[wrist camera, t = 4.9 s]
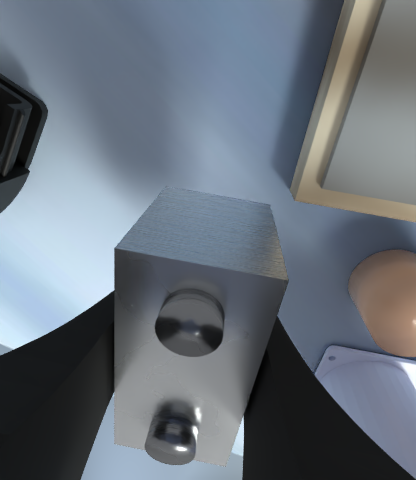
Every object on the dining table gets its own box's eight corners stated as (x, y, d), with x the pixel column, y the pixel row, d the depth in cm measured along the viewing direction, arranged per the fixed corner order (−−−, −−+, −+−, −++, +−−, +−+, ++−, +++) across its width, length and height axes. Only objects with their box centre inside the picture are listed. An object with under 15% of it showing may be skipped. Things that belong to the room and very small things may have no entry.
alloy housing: (231, 353, 15) (225, 487, 10) (153, 338, 15) (107, 462, 10) (270, 204, 11) (292, 296, 6) (166, 186, 11) (103, 261, 6)
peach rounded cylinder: (407, 317, 20) (442, 364, 17) (337, 304, 21) (356, 347, 17) (444, 256, 18) (493, 296, 15) (364, 242, 18) (394, 278, 15)
